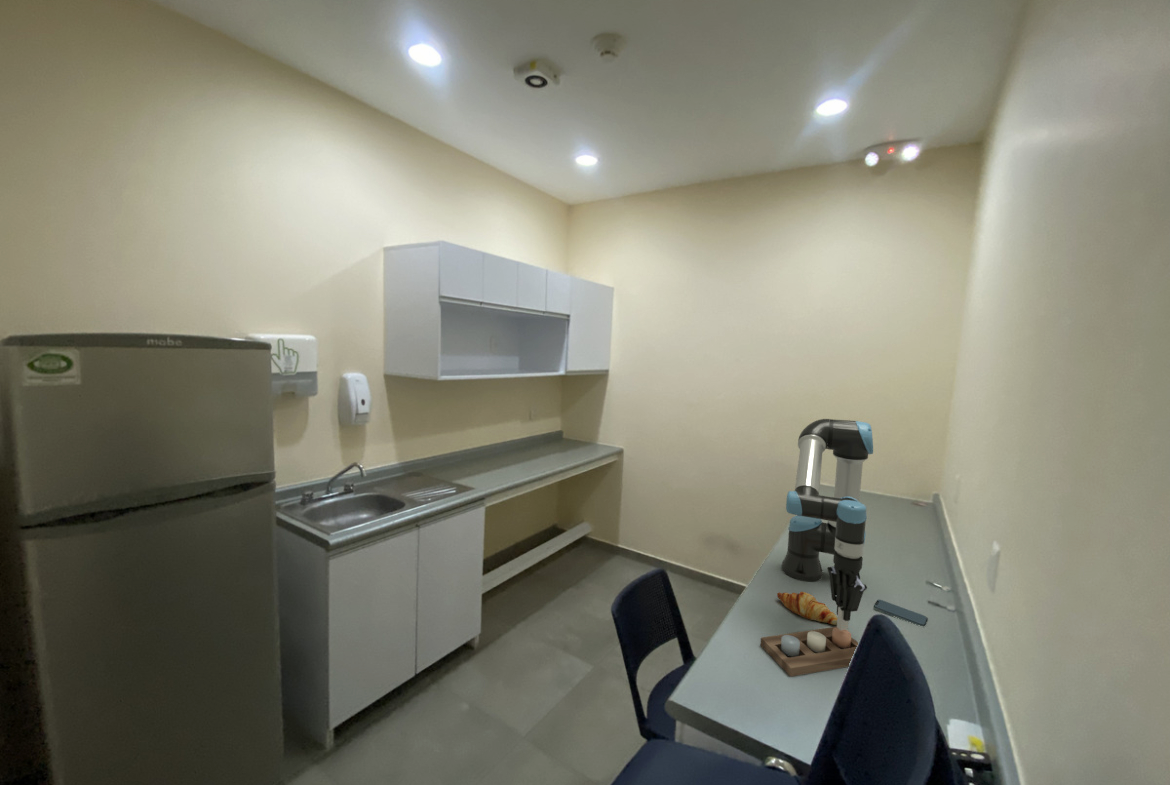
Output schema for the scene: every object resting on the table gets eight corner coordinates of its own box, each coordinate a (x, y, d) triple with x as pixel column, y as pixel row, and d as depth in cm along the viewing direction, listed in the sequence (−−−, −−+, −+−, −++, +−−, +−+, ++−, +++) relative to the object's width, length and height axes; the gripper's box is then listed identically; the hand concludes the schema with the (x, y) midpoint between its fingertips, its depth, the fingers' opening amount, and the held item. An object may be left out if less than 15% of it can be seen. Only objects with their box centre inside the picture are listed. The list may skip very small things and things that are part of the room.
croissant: (841, 633, 156) (847, 609, 158) (832, 630, 150) (839, 606, 152) (779, 605, 172) (785, 584, 174) (769, 602, 165) (775, 579, 167)
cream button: (803, 643, 142) (803, 632, 142) (817, 641, 143) (817, 630, 143) (814, 653, 137) (815, 642, 137) (829, 651, 138) (829, 640, 138)
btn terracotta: (828, 639, 144) (828, 628, 144) (841, 637, 145) (842, 626, 145) (840, 649, 139) (841, 638, 139) (854, 647, 140) (855, 636, 140)
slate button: (777, 647, 140) (777, 636, 139) (791, 644, 141) (792, 634, 141) (788, 658, 135) (788, 646, 135) (802, 655, 136) (803, 644, 136)
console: (760, 645, 144) (760, 637, 144) (837, 633, 150) (837, 626, 150) (790, 676, 130) (791, 668, 130) (873, 662, 137) (873, 654, 137)
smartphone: (924, 625, 154) (873, 606, 165) (924, 630, 155) (872, 610, 165) (928, 616, 160) (878, 598, 170) (927, 621, 160) (877, 602, 170)
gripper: (821, 545, 145) (816, 617, 147) (855, 564, 132) (848, 643, 134) (842, 543, 147) (836, 614, 149) (876, 562, 134) (870, 639, 136)
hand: (842, 628), depth 142 cm, fingers closed
